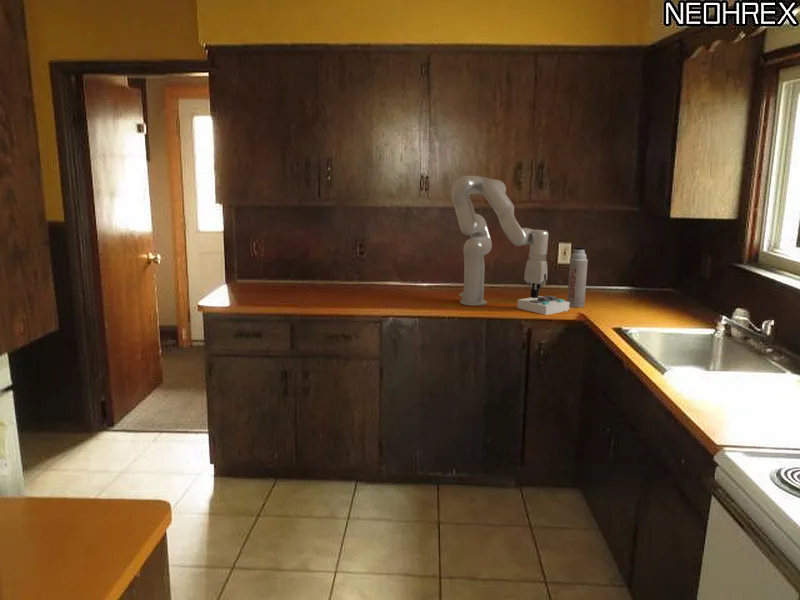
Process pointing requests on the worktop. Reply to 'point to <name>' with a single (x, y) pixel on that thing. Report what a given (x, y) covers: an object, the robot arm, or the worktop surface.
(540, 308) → the switch unit
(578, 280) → the thermos bottle
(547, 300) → the button
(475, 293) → the robot arm
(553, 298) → the button
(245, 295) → the worktop surface
